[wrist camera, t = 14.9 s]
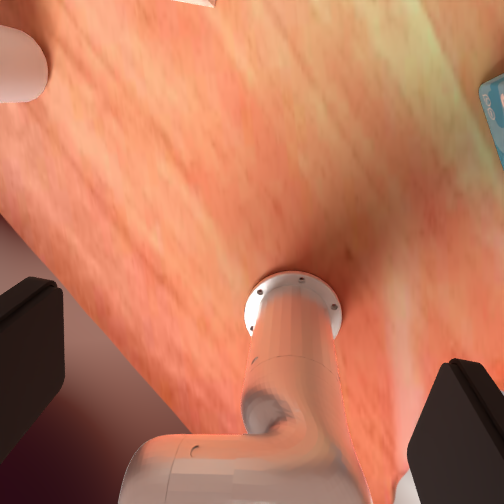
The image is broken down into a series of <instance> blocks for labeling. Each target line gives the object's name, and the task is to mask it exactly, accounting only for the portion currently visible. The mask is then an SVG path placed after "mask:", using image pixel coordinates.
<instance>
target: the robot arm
mask: <svg viewBox="0 0 504 504" xmlns="http://www.w3.org/2000/svg"><path fill="white" fill-rule="evenodd" d="M300 277H303V279H300ZM259 289H262V290H261V291H260V290H259ZM332 304H335V305H332ZM244 319H245V324H246V328H247V330H248V332H249V334H250V336H251V337H252V339H251V344H250V350H249V355H248V361H247V367H246V372H245V378H244V383H243V390H242V396H241V413H242V418H243V422H244V425H245V428H246V430H247V433H248V434H243V435H232V434H172V435H163V436H158V437H155V438H153V439H151V440H148V441H147V442H146V443H144V444H143V445H142V446H141V447H140V448H139V449H138V451H136V453H135V454H134V456H133V458H132V459H131V461H130V464H129V466H128V468H127V471H126V473H125V476H124V480H123V483H122V488H121V492H120V497H119V502H118V504H373V501H372V498H371V494H370V491H369V487H368V484H367V482H366V479H365V476H364V473H363V471H362V468H361V466H360V463H359V460H358V457H357V455H356V452H355V449H354V446H353V443H352V440H351V436H350V432H349V428H348V424H347V419H346V414H345V409H344V402H343V396H342V391H341V383H340V377H339V371H338V365H337V359H336V352H335V346H334V339H335V338H336V336H337V335H338V332H339V330H340V328H341V322H342V310H341V305H340V302H339V300H338V297H337V295H336V294H335V292H334V291H333V289H332V288H331V287H330V286H329V285H328V284H327V283H326V282H325V281H323V280H322V279H320V278H319V277H317V276H314V275H312V274H310V273H306V272H301V271H283V272H279V273H275V274H272V275H270V276H268V277H266V278H264V279H263V280H262V281H260V282H259V283H258V284H257V285H256V286H255V287H254V288H253V289H252V291H251V293H250V294H249V296H248V299H247V302H246V305H245V311H244ZM64 378H65V363H64V319H63V292H62V289H60V288H57V284H56V282H54V281H52V280H47V279H42V278H36V277H28V278H26V279H24V280H23V281H21V282H20V283H18V284H17V285H15V286H14V287H12V288H11V289H9V290H8V291H6V292H5V293H3V294H2V295H0V464H1V463H2V462H3V460H4V459H5V458H6V457H7V455H8V454H9V453H10V452H11V450H12V449H13V448H14V447H15V445H16V444H17V443H18V442H19V440H20V439H21V438H22V437H23V435H24V434H25V433H26V432H27V430H28V429H29V428H30V427H31V425H32V424H33V423H34V422H35V420H36V419H37V418H38V417H39V415H40V414H41V413H42V412H43V410H44V409H45V408H46V407H47V405H48V404H49V403H50V402H51V401H52V399H53V398H54V397H55V395H56V394H57V393H58V392H59V390H60V389H61V387H62V385H63V382H64ZM407 459H408V463H409V467H410V470H411V473H412V476H413V479H414V483H415V486H416V489H417V492H418V496H419V499H420V502H421V504H504V396H503V394H502V393H501V391H500V390H499V388H498V387H497V385H496V384H495V383H494V381H493V380H492V378H491V377H490V375H489V374H488V373H487V371H486V370H485V368H484V367H483V366H482V365H481V364H480V363H477V362H472V361H467V360H461V359H456V358H454V359H452V360H451V361H449V363H443V364H442V365H441V367H440V369H439V372H438V374H437V377H436V379H435V382H434V384H433V386H432V389H431V391H430V394H429V396H428V398H427V401H426V403H425V406H424V408H423V410H422V413H421V415H420V418H419V420H418V422H417V425H416V427H415V430H414V432H413V435H412V437H411V439H410V442H409V444H408V448H407Z"/></svg>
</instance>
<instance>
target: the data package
mask: <svg viewBox="0 0 504 504" xmlns="http://www.w3.org/2000/svg"><path fill="white" fill-rule="evenodd" d="M479 98H480V101H481V104H482V107H483V110H484V113H485V116H486V119H487V122H488V125H489V128H490V131H491V134H492V137H493V140H494V143H495V146H496V149H497V152H498V155H499V158H500V161H501V164H502V167H503V170H504V73H503V74H501V75H499V76H497V77H495V78H493V79H491V80H489V81H487V82H485V83H483V84H482V85H481V86H480V88H479Z"/></svg>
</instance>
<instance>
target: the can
mask: <svg viewBox="0 0 504 504" xmlns="http://www.w3.org/2000/svg"><path fill="white" fill-rule="evenodd" d="M47 79H48V67H47V62H46V58H45V56H44V54H43V52H42V50H41V48H40V46H39V45H38V44H37V43H36V41H35V40H34V39H33V38H32V37H30V36H29V35H28V34H26V33H25V32H24V31H21V30H18V29H15V28H12V27H8V26H4V25H0V103H12V102H29V101H31V100H34V99H36V98H37V97H38V96H39V95H40V94H41V93H42V92H43V91H44V89H45V86H46V84H47Z"/></svg>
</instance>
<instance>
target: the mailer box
mask: <svg viewBox="0 0 504 504" xmlns="http://www.w3.org/2000/svg"><path fill="white" fill-rule="evenodd" d="M175 1H181V2H186V3H192V4H197V5H203V6H208V7H214V8H215V1H216V0H175Z"/></svg>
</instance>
